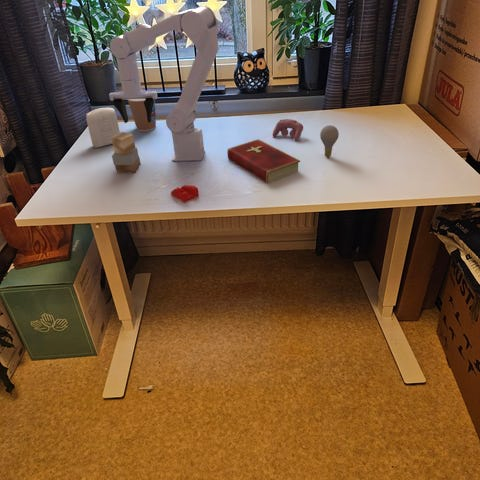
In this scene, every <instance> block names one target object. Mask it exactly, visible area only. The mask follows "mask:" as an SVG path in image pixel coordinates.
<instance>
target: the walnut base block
mask: <svg viewBox="0 0 480 480" xmlns="http://www.w3.org/2000/svg"><path fill="white" fill-rule="evenodd" d="M139 166H140V167H141V158H140V156H139V157H138V158H137V160H136V161H135V163H134V164H133V165H114V168H115V171H116V174H136V173H137V172H138V170H139V168H140V167H139ZM136 171H137V172H136Z"/></svg>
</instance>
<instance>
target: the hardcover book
mask: <svg viewBox="0 0 480 480" xmlns="http://www.w3.org/2000/svg"><path fill="white" fill-rule="evenodd" d="M226 154H227V159H228V160H229V161H231V162H233V163H234V164H236V165H237V166H239V167H240V168H242V169H244V170H245V171H247V172H248V173H249V174H252V175H253V176H255V177H256V178H258V179H260V180H262V181H263V182H264V183H267V184H269V183H270V182H273V181H277V180H278V179H281V178H284V177H286V176H289V175H292V173H293V174H295V173H298V172H299V163H301V159H297V158H296V157H294V156H292V155H290V154H288V153H286V152H285V151H282V150H281V149H278V148H276V147H275V146H273V145H271V144H269V143H267V142H264V141H263V140H261V139H259V138H257V139H254V140H252V141H248V142H245V143H242V144H238V145H236V146H232V147H228V148H227V153H226Z"/></svg>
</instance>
